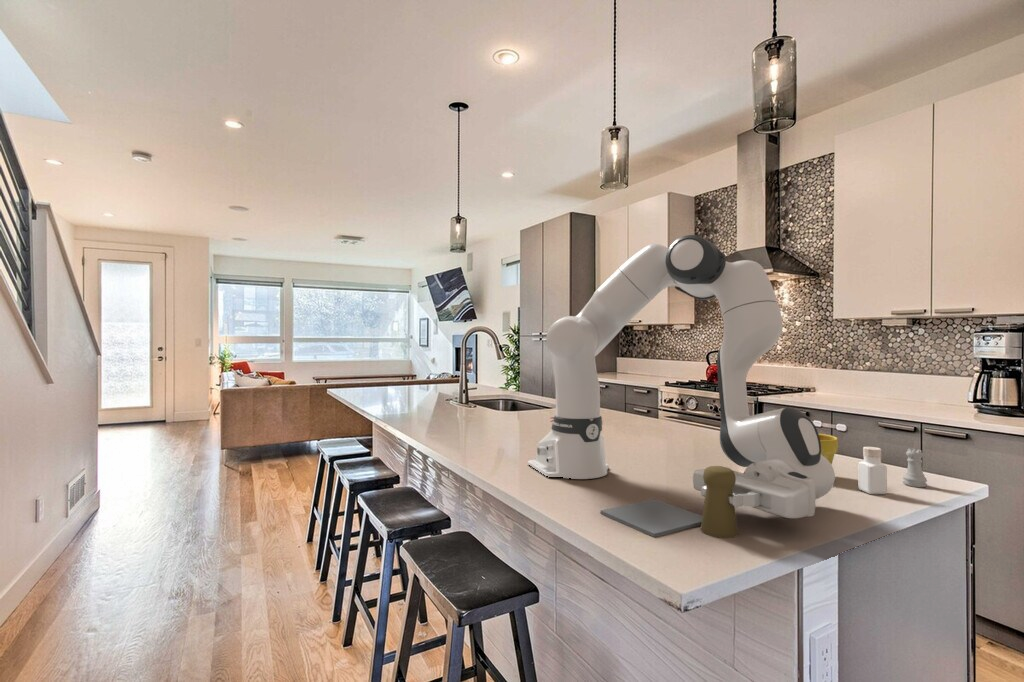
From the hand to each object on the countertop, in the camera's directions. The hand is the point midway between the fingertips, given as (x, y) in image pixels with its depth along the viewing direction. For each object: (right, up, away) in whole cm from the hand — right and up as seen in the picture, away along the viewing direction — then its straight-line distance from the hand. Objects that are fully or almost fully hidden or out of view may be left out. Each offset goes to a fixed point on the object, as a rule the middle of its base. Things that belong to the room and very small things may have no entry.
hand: (717, 496), depth 88 cm
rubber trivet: (-9, -6, +7) cm, 13 cm away
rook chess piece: (+55, -6, +28) cm, 62 cm away
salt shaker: (+42, -6, +23) cm, 48 cm away
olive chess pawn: (0, -6, 0) cm, 6 cm away
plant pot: (+37, -6, +36) cm, 52 cm away
